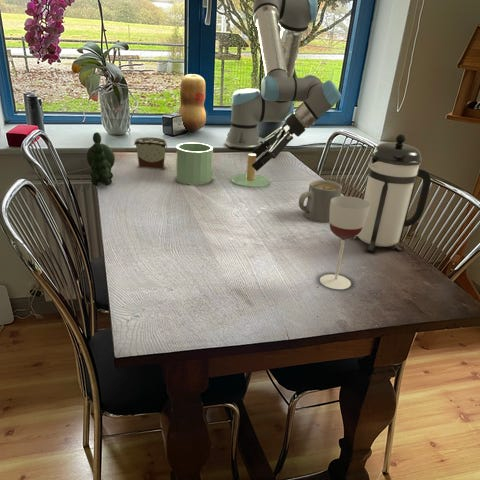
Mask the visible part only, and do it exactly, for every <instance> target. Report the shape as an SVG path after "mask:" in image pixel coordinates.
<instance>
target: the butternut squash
mask: <svg viewBox="0 0 480 480" xmlns="http://www.w3.org/2000/svg"><path fill="white" fill-rule="evenodd" d="M179 96H180V99H179V100H180V107H179V109H178V113H177V115H178V114H181V115H182V121H183V125H184V127H185V129H186V130H185V132H198V131H200V130H201V129H202V128H204V126H205V124H206V122H207V114H206V109H205V105H204V104H205V101H206V80H205V79H204V77H203V76H201V75H200V74H195V73H193V74H192V73H189V74H188V73H187V74H185V75H184V76H183V77H182V78H181V81H180V87H179Z"/></svg>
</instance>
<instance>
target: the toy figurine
mask: <svg viewBox="0 0 480 480" xmlns="http://www.w3.org/2000/svg"><path fill="white" fill-rule="evenodd" d="M92 142H93V144H92V146H90V147H89V148H88V150H87V152H86V162H87V164H88V166H89V167H90V171H91V172H90V174H89V175H90V177H91V180H90V182H91V184H92V185H93V186H99V184H104V185H105V186H110V185H111V184H112V183H113V179H112V178H113V177H114V174H113V172H112V168H113V167H114V164H115V162H116V157H115V156H116V155H115V153H114V151H113V149H111V147H109V146H108V145H106V144H105V143H101V142H102V136H101V134H100V132H97V131H96V132H94V133H93V135H92Z"/></svg>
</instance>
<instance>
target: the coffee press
mask: <svg viewBox="0 0 480 480" xmlns="http://www.w3.org/2000/svg"><path fill="white" fill-rule="evenodd" d="M405 141H406V136H405V135H404V134H398V135H397V136H396V137H395V142H394V141H389V142H388V141H387V142H382V143H380V144H377V146H376V147H375V148H374V150H372V151H371V154H370V156H371V157H370V159H369V161H368V164H367V167H368V171H367V172H368V173H367V178H366V181H365V187H364V193H363V197H362V199H363V200H366V201H368V202H369V203H370V208H369V212H368V215H367V218H366V221H365V223H364V226H363V228H362V230H361V232H360V233H359V234H358V235H356V236H354V237H352V238H351V239H352V240H357V238H359V239H360V240H361V241H362V242H364V243H365V244H368V247H367V253H371V254H373V253H374V251H375V248H376V247H381V248H383V247H392V246H394V247H395V248H396V250H398V251H399V252H400V251H402V250H403V249H404V247H405V245H404V243H403V240H402V239H403V234H404V229H405V227H410V226H413V225H415V224H416V223H417V222H418V221H419V220H420V219H421V217H422V215H423V213H424V210H425V207H426V203H427V199H428V195H429V192H430V188H431V183H432V182H431V175H430V173H429V172H428V171H427V170H425V169H423V168H420V165H421V164H422V162H423V158H422V154H421V150H419V149H418V148H417V147H416V146H413V145H411V144H407V143H404V142H405ZM418 177H421V179H422V186H421V190H420V194H419V198H418V201H417V206H416V209H415V212H414V214H413V216H411V217H410V218H408V214H409V210H410V206H411V203H412V198H413V194H414V191H415V187H416V183H417V179H418ZM398 243H400V246H401V248H400V247H399V245H398Z"/></svg>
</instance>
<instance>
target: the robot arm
mask: <svg viewBox="0 0 480 480" xmlns="http://www.w3.org/2000/svg"><path fill="white" fill-rule="evenodd" d="M318 1H319V0H254V1H253V5H252V20H253V24H254V25H255V27H257V32H258V33H257V34H258V37H259V38H258V39H259V44H260V50H261V57H262V62H263V68H264V74H265V76H263V78H262V79H261V83H260V84H261V85H260V89H259V88H241V89H238V90H235V91H234V92H233V93H232V98H231V115H230V119H231V120H230V128H229V131H228V132H227V135H226V136H227V137H226V140H225V146H226V147H228V148H231V149H235V150H242V151H243V150H244V151H250V150H251V152H250V153H254V154H256V162H255V163H253V164H252V167H253V168H254V169H255V172H258V171H259V170H261V168H263V167H264V166H265V165H266V164H267V163H269V162H270V161H271V160H272V159H273V160H275V159H276V158H277V157H278V155H280V153H281V152H282V151H283V150H284V149H285V148H303V147H309V146H320V145H327V144H326V143H327V142H315V143H308V144H307V143H306V144H300V145H288V144H289V143H290V142H291V141H293V140H294V136H293V135H295V136H296V137H300V136H301V135H302V134H303V133H305V132H306V129H309V128H310V127H311V126H314V125H315V124H316V123H315V122H317V121H318V120H319V119H320V118H322V117H323V116H324V115H325V114H326V113H327V112H328V111H330V110H331V109H332V108H333V107H334V106H335V105H336V104H337V103H338V102H339V101H340V100H341V99H342V94H341V92H340V90H339V89H338V88H337V86H336V84H335V83H334V82H333V81H332V80H329V79H328V80H326V81H324V82H322V80H321V79H320V78H319V77H317V76H316V75H314V74H307V75H305V76H303V77H294V73H295V69H296V64H297V60H298V55H299V50H300V46H301V41H302V38H303V34H304V33H305V32H306V31H307V30H309V29H308V28H309V26H310V24H312V23H314V22H315V21H316V19H317V16H318V7H319V6H318ZM295 102H297V103H299V102H301V103H300V104H299V105H298V106H297V107H296V108H295ZM258 122H259V123H277V124H280V123H283V124H282V125H281V126H280V127H278V128H277V129H276V130H274V131H273V132H271V133H270V134H268V135H267V136H265V137H264V138H263V141H261V140H260V138H259V132H258ZM285 123H286V124H285ZM330 143H331V144H330V145H335V146H344V147H345V146H346V147H352V146H361V147H362V148H366V146H365V145H364V144H363V145H364V146H363V145H362V143H359V142H357V143H344V144H345V145H342V144H343V143H339V142H330ZM350 144H351V146H349V145H350Z"/></svg>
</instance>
